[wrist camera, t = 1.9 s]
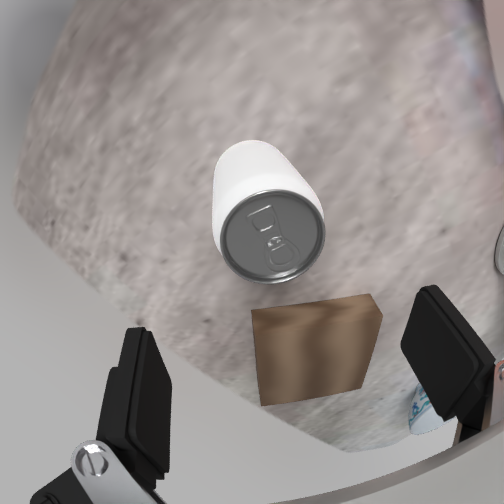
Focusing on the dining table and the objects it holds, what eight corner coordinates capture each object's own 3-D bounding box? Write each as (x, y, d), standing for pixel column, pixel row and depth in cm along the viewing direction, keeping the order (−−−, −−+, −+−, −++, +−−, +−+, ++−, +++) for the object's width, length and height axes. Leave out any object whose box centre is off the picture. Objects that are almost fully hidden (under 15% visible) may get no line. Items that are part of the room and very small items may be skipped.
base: (369, 293, 35) (383, 315, 32) (352, 367, 42) (361, 388, 39) (251, 310, 34) (255, 335, 31) (257, 383, 41) (261, 406, 38)
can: (234, 221, 29) (245, 306, 18) (200, 160, 26) (187, 218, 15) (299, 190, 28) (346, 261, 18) (269, 126, 25) (308, 159, 14)
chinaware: (454, 384, 53) (468, 411, 46) (394, 413, 54) (406, 442, 47) (467, 344, 45) (487, 373, 38) (398, 378, 46) (415, 413, 39)
